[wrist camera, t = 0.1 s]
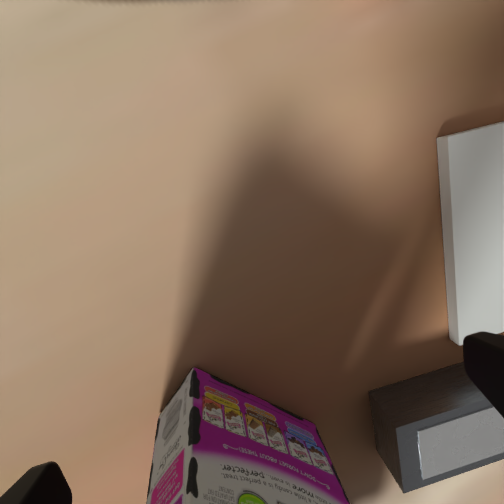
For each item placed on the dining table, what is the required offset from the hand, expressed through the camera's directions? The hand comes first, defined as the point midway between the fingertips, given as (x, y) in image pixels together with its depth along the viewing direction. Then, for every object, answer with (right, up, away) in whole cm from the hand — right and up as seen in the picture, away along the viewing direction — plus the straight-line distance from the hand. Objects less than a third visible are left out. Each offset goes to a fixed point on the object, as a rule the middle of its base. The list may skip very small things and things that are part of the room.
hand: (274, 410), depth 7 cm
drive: (+14, -9, +20) cm, 26 cm away
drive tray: (+22, +6, +17) cm, 28 cm away
